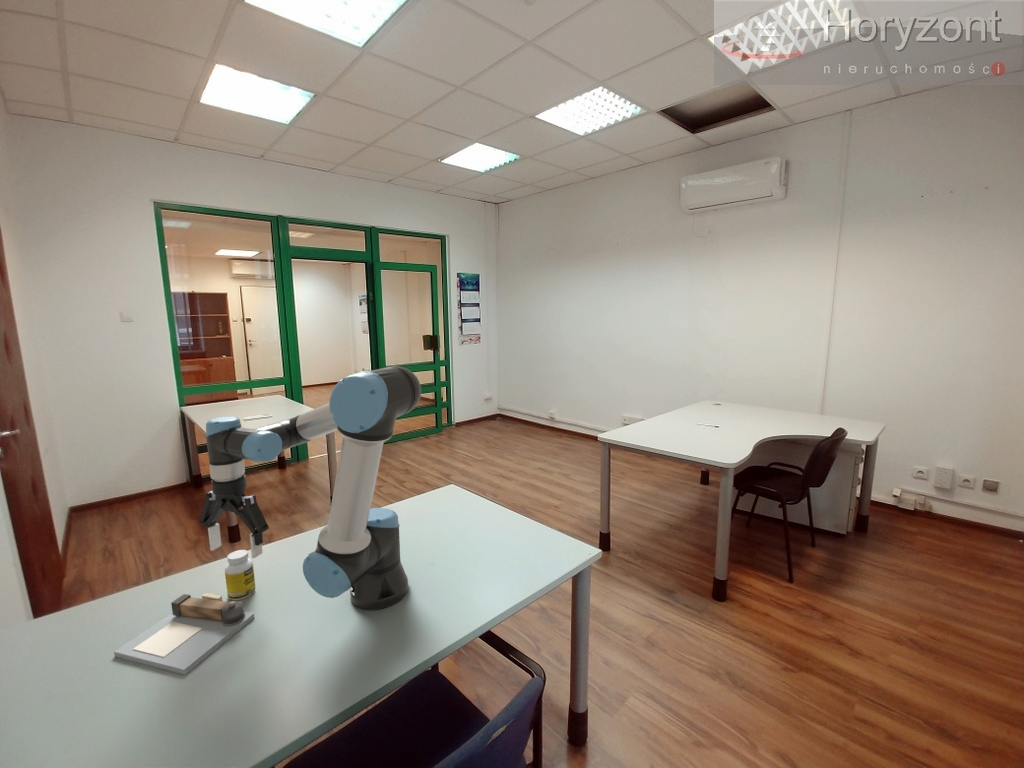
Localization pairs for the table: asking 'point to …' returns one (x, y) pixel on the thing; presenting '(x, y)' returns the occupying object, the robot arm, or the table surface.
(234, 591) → the pill bottle
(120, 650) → the board
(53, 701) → the table surface
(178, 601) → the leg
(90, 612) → the table surface
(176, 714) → the table surface
